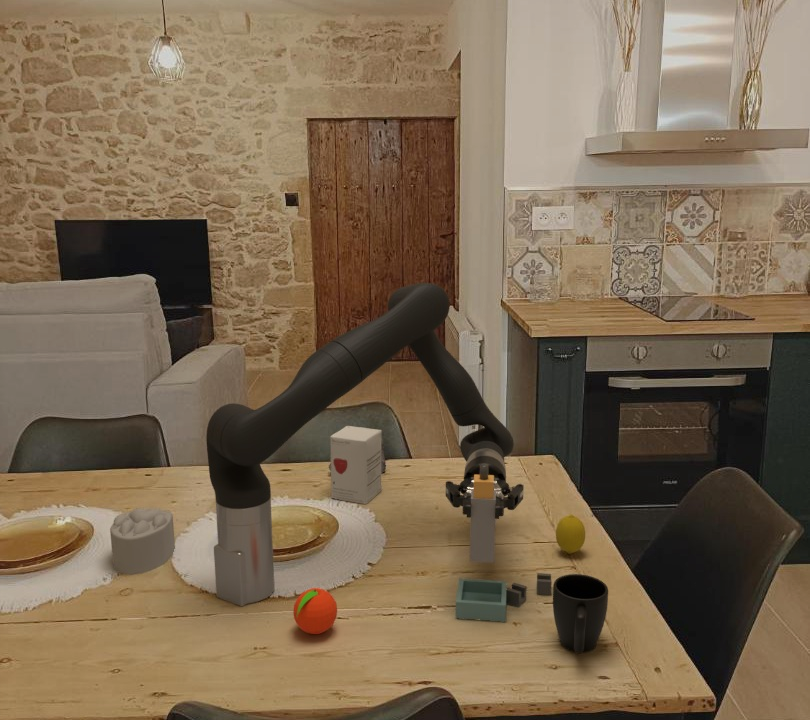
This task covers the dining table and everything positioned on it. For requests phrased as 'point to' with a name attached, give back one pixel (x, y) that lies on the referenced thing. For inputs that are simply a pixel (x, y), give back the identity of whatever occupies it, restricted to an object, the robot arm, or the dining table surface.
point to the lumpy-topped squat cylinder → (142, 540)
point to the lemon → (570, 534)
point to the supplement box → (356, 464)
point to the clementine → (315, 611)
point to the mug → (579, 610)
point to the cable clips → (519, 591)
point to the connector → (483, 517)
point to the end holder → (481, 599)
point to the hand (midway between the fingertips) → (483, 512)
